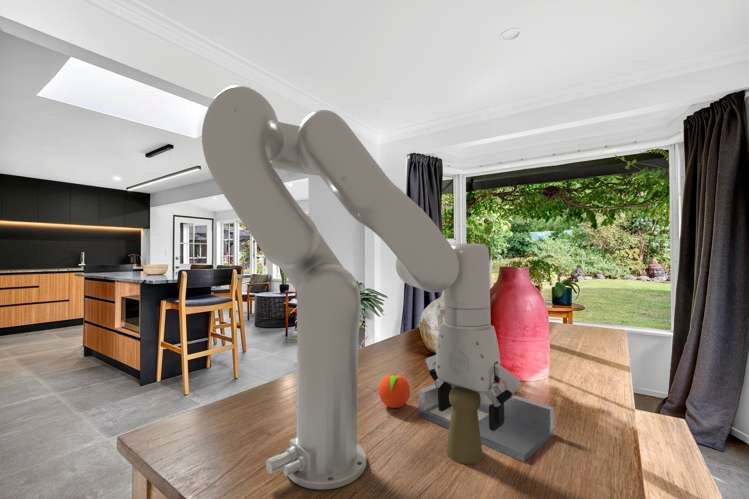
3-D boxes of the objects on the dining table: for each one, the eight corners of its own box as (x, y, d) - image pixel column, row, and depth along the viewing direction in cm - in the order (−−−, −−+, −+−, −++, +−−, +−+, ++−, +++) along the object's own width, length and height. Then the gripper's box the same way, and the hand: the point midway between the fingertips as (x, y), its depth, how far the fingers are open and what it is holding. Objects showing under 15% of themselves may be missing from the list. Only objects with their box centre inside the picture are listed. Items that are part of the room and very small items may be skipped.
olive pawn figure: (458, 439, 64) (459, 378, 64) (489, 453, 60) (490, 388, 60) (438, 452, 60) (439, 387, 60) (470, 468, 56) (471, 398, 56)
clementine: (407, 417, 72) (407, 382, 72) (374, 414, 74) (374, 379, 74) (411, 401, 80) (412, 370, 80) (381, 398, 82) (382, 367, 82)
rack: (524, 462, 58) (524, 429, 58) (418, 415, 73) (418, 390, 73) (554, 434, 67) (554, 406, 67) (454, 398, 82) (454, 375, 82)
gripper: (413, 313, 64) (415, 409, 64) (505, 327, 51) (508, 446, 51) (438, 308, 69) (440, 396, 69) (527, 319, 56) (530, 427, 56)
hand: (469, 417), depth 60 cm, fingers open, 9 cm apart
